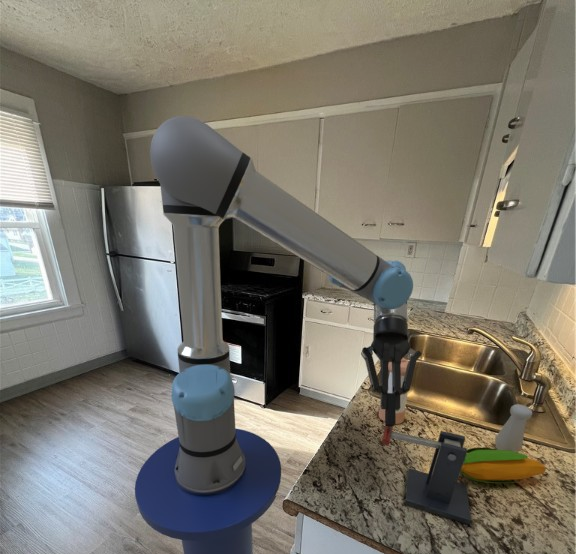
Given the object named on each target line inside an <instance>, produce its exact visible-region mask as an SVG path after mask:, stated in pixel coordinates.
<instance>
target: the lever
mask: <svg viewBox="0 0 576 554" xmlns="http://www.w3.org/2000/svg"><path fill="white" fill-rule="evenodd" d="M393 428H394V426H393V427H390V426H385V425H384V431H383V435H382V438H381V444H382V445H384V446H389V445H390V444H391V440H392V439H393V440H398V441H402V442H406V443H411V444H414V445H415V444H416V445H420V446H423V447H429V448H433V449H436V448H437V449H439V448H440V445H441V442H438V440H433V439H429V438H424V437H419V436H414V435H410V434H406V433H401V432H396V431H393ZM442 443H446V444H450V445H454V446H458V447H461V446H460V441H455V440H450V439H446V438H444V441H443V442H442Z"/></svg>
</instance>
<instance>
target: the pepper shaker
mask: <svg viewBox="0 0 576 554" xmlns="http://www.w3.org/2000/svg"><path fill="white" fill-rule="evenodd" d="M408 362H409V359H406V358H405V357H403V358H402V360H401V388H402V384H403V380H404V376H405V372H406V368H407V365H408ZM414 371H415V369H414ZM388 372H389V373H388V393H392V362H389V363H388ZM407 402H408V392H407V393H406V394H402V395H400V409H399V410H398V411H395V412H396V425H400V424H402V423H403V422H404V421H405V415H406V412H407V411H406V410H407V409H406V405H407ZM378 417H379V419H380V420H381V421H383V422H384V423H385V410H384V409H381V407H380V406H379V409H378Z"/></svg>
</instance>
